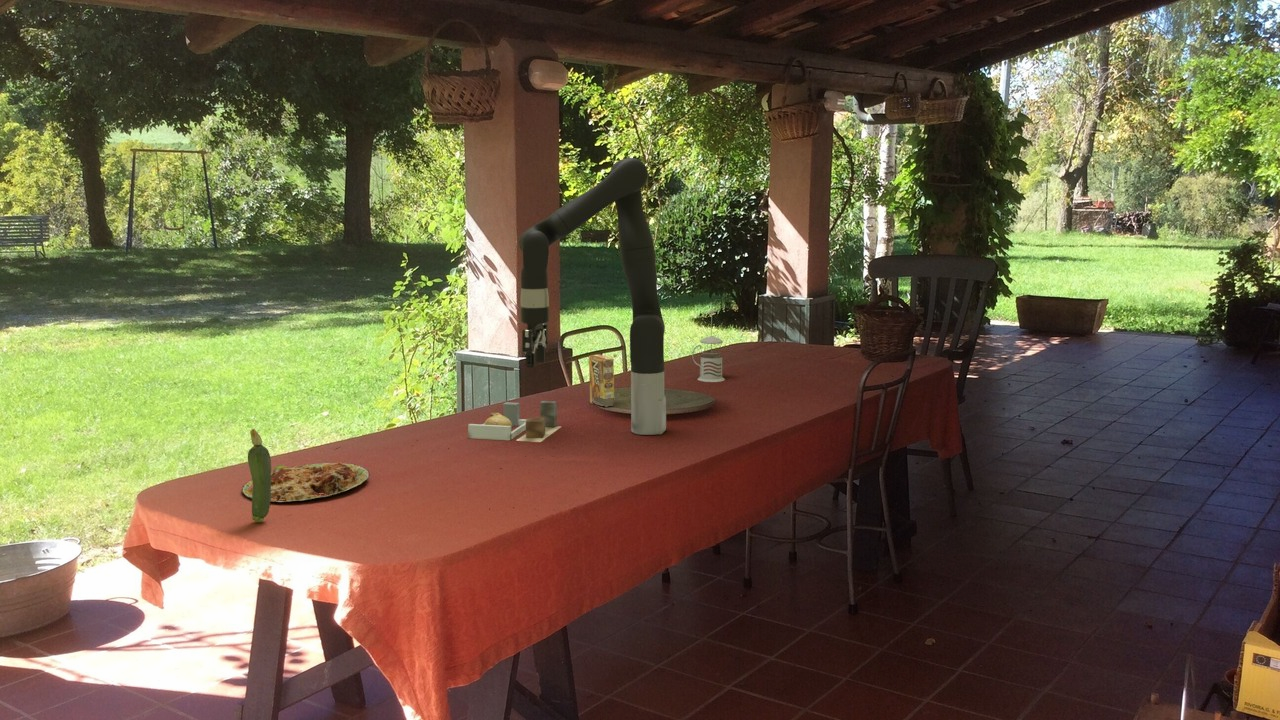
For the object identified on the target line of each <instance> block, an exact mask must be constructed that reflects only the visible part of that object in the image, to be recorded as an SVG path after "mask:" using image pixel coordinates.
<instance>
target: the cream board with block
mask: <svg viewBox="0 0 1280 720" xmlns="http://www.w3.org/2000/svg"><path fill="white" fill-rule="evenodd" d="M539 403H540V405H539V407H540V408H539V410H540V412H539V414H540V416H539V418H545V435H544V437H543V438H526V433H524V434H523V435H521V436H520V437H519V438H517V439H516V440H515V441H518V442H528V443H529V442H531V443H541V442H543V441H544V440H546V439H547V438H548V437H550V436H551V435H552V434H554V433H556V431H558V430H560V429H561V428H562V426H560V425H559V426H558V423H557V422H558V416H557V415H558V413H557V411H558V410H557V408H558V407H557V405H558V404H557V401H556V400H555V401H553V400H542V401H540V402H539Z"/></svg>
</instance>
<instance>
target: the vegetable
mask: <svg viewBox="0 0 1280 720" xmlns="http://www.w3.org/2000/svg"><path fill="white" fill-rule="evenodd" d="M249 434H250V439H251V444H252V445H253V446H252V447H251V448H250V449H249V451H248V452H247V463H248V467H249V472H250V475H251V478H252V479H251V480H252V481H253V494H252V499H251V515H252V516H251V517H252V518H251V519H252V521H254V522H255V523H257V522H258V523H262V522H263V521H264V519H265V518H266V517H267V515H268V514H269V510H270V508H271V507H270V505H271V502H272V500H271V472H272V460H271V454H270V451H269V449H268V448H267V447H265V446H264V445H263V440H262V436H261V435H260V434H259V432H257V430H256V429H255V428H251V429H250V432H249Z"/></svg>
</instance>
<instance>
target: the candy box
mask: <svg viewBox="0 0 1280 720" xmlns="http://www.w3.org/2000/svg"><path fill="white" fill-rule="evenodd" d="M588 364H589V366H588V367H589V373H588V374H589V402H590V404H593V403H592V401H593V398H595V397H600V398H603V399H608V398H614V399H615V376H614V374H615V372H614V370H615V367H614V358H613V357H610V356H606V355H603V354H591V355H589V356H588Z"/></svg>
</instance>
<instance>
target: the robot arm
mask: <svg viewBox="0 0 1280 720" xmlns="http://www.w3.org/2000/svg"><path fill="white" fill-rule="evenodd" d="M648 173H649V172H648V169H647V166H646V165H645V164H644V162H643V161H641V160H640V159H638V158H635V157H626V158H622V159H620V160H617V161H616V162H614V164H613V165H612V166H611V168H610V171H609V174H608V175H607V176H606V177H605V178H603V180H601V181H600V182H599V183H597V184H596V185H595V186H593V187H591V188H589V190H587V191H585V192H583V193H582V194H580V195H579V196H576V197H575V198H573V199H571V200H570V201H567V203H565V204H564V205H562V206H561V207H560V208H559V209H557V210H555V211H554V212H553V213H551V214H550V215H549V216H547V217H546V218H545V219H543V220H541V221H540V222H537V223H536V224H535V225H534V224H533V226H531V227H529V228H528V229H527V230H525V231H524V232H522V233H521V236H520V237H519V240H518V246H519V249H520V250H521V252H522V265H523V266H522V268H521V272H520V273H521V274H520V288H521V289H520V321H521V323H522V324H526V329H522V331H521V333H522V334H521V335H522V336H521V338H522V341H521V342H522V343H521V344H522V345H521V349H522V353H524V354H525V366H526V368H532V369H533V368H534V367H535V366H536V363H545V362H546V351H545V350H546V348H547V346H548V345H549V338H548V337H549V334H548V333H549V332H548V327H549V326H548V323H549V321H550V298H549V297H550V296H549V290H548V289H549V288H548V287H549V286H548V283H549V282H548V264H549V254H550V253H549V252H550V251H549V250H550V246H551V245H552V244H553V243H555V242H556V241H558V240H560V239H564V238H566V237H567V236H569V235H570V234H572V233H573V232H575V231H577V229H579V228H580V227H581V226H582V225H584V224H585V223H587V222H588V221H589V220H590V219H592V218H593V217H595V216H596V215H598V213H600V212H601V211H603V210H604V209H606V208H607V207H609V206H610V205H612V204H613V203H615V208H616V214H617V225H618V226H617V228H618V239H619V248H620V249H619V250H620V255H621V256H620V258H621V264H622V269H623V273H624V276H625V280H626V283H627V286H628V290H629V292H630V299H631V305H632V306H631V309H632V323H631V325H630V327H629V328H630V329H629V358H630V360H629V361H630V395H631V396H630V401H631V402H630V416H631V422H630V427H631V433H633V434H635V435H642V436H644V435H646V436H652V435H653V436H655V435H662V434H663V433H664V432H665V431H666V430H667V397H666V396H665V353H664V352H665V350H664V349H665V345H664V343H665V338H664V337H665V336H664V335H665V330H666V328H665V321H664V318H663V314H662V311H661V306H660V303H659V302H660V301H659V297H658V296H659V295H658V277H657V263H656V261H657V260H656V252H655V251H656V250H655V246H654V240H653V236H652V233H651V229H650V225H649V224H648V220H647V217H646V216H645V211H644V208H643V207H644V206H643V197H642V188H644V186H645V185H646V183H647V181H648V175H649V174H648ZM535 352H536V353H535ZM535 354H536V355H535Z"/></svg>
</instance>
